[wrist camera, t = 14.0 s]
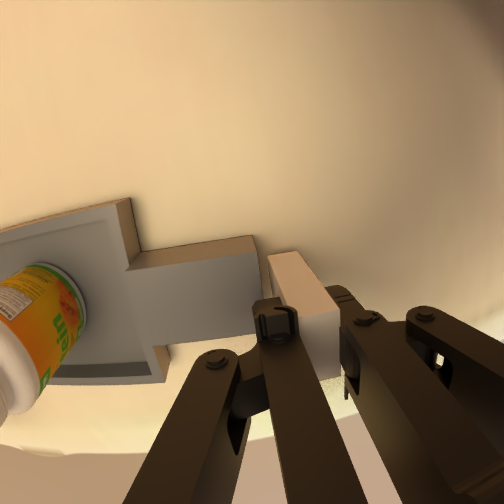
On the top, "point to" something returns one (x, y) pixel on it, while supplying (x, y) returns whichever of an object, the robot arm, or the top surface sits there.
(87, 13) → the top surface
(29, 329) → the supplement bottle
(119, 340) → the tray
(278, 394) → the robot arm
